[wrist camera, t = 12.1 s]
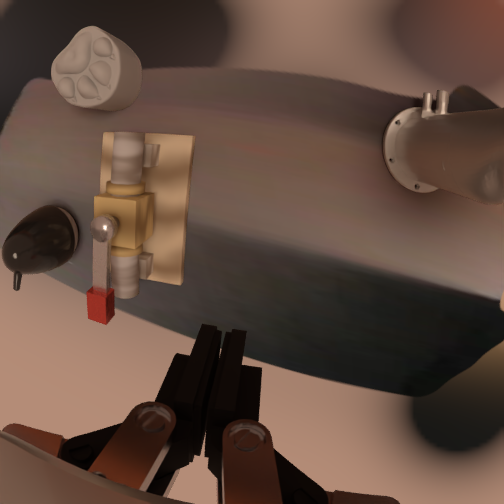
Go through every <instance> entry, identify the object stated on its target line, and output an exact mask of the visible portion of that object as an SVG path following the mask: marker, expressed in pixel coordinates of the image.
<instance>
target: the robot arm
mask: <svg viewBox="0 0 504 504" xmlns="http://www.w3.org/2000/svg"><path fill="white" fill-rule="evenodd" d="M432 98H433V95H432V94H430V93H424V94H423V107H413V108H408V109H405V110H403V111H400V112H399V113H398V114H396V115H395V116H394V117H393V118H392V119H391V120H390V122H389V124H388V125H387V127H386V130H385V133H384V137H383V155H384V160H385V162H386V165H387V168H388V170H389V171H390V173H391V175H392V176H393V177H394V178H395V180H396V181H397V182H398V183H400V184H401V185H402V186H404V187H405V188H407V189H409V190H412V191H415V192H420V193H428V192H432V191H435V190H437V189H439V188H440V189H443V190H446V191H449V192H452V193H455V194H458V195H460V196H463V197H466V198H469V199H471V200H474V201H477V202H480V203H484V204H489V205H496V204H501V203H504V108H498V109H490V110H481V111H470V112H459V113H450V114H448V113H447V109H448V103H449V93H448V92H446V91H443V90H437V96H436V102H437V103H436V110H433V111H432V110H431V104H432ZM395 121H396V122H397V124H395ZM390 158H391V161H389V159H390ZM415 185H416V187H415ZM246 332H247V331H243V330H237V329H232V333H231V332H226V334H225V338H224V342H223V346H222V350H221V354H220V345H221V335H222V331H219V330H217V326H212V325H207V324H202V326H201V328H200V331H199V333H198V336H197V339H196V341H195V344H194V346H193V349H192V352H191V354H190V356H189V355H184V354H179V353H177V354H176V355H175V356H174V358H173V361H172V363H171V365H170V367H169V370H168V372H167V375H166V377H165V379H164V381H163V383H162V386H161V388H160V390H159V393H158V395H157V397H156V400H155V402H150V401H149V402H144V403H141V404H139V405H137V406H135V407H134V408H133V409H132V410H131V412H130V413H129V415H128V416H127V417H126V419H125V420H124V421H123V423H120V424H117V425H113V426H110V427H107V428H104V429H100V430H97V431H94V432H90V433H87V434H83V435H79V436H76V437H73V438H71V439H65V438H64V437H63V436H62V435H58V434H54V433H50V432H45V431H42V430H38V429H35V428H31V427H27V426H24V425H21V424H15V423H13V424H9V425H7V426H6V427H4V428H3V430H2V431H0V504H192V503H188V502H183V501H179V500H174V499H170V498H167V496H168V494H169V492H170V490H171V488H172V485H173V484H174V482H175V480H176V477H177V476H178V474H179V470H180V468H182V467H184V466H187V465H189V462H193V458H194V455H197V456H200V454H201V449H202V445H203V440H204V437H205V432H206V438H205V457H208V458H209V459H208V469H209V470H210V471H211V472H212V473H213V474H214V475H215V477H216V478H217V504H400V503H399V502H398V501H397V500H396V499H394V498H392V497H388V496H379V495H369V494H359V493H351V492H344V491H338V490H335V491H334V492H329V491H325V490H324V489H323V488H322V487H321V486H319V485H318V484H317V483H316V482H314V481H313V480H312V479H310V478H309V477H308V476H306V475H305V474H304V473H303V472H301V471H300V470H299V469H298V468H297V467H295V466H294V465H293V464H291V463H290V462H289V461H288V460H287V459H286V458H284V457H283V456H282V455H281V454H280V453H279V452H277V451H276V450H275V449H274V448H273V442H272V437H271V434H270V431H269V430H268V429H267V428H266V427H265V426H264V425H263V424H261V423H259V422H258V421H259V407H260V392H261V377H262V368H260V367H253V366H247V365H242V359H243V352H244V346H245V339H246ZM219 354H220V358H219Z"/></svg>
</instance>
